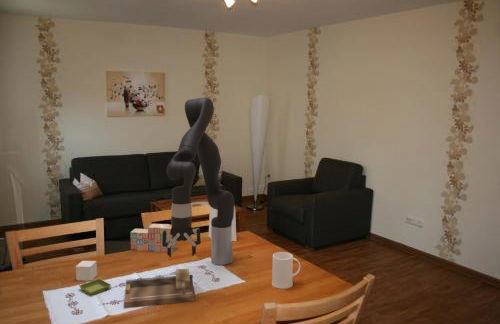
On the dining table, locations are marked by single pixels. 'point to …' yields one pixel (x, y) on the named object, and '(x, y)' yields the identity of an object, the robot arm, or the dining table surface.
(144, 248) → the stack of blocks
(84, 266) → the white cube
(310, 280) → the dining table surface
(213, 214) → the milk
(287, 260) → the mug
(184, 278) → the gauge
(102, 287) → the green square dish
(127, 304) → the tray
